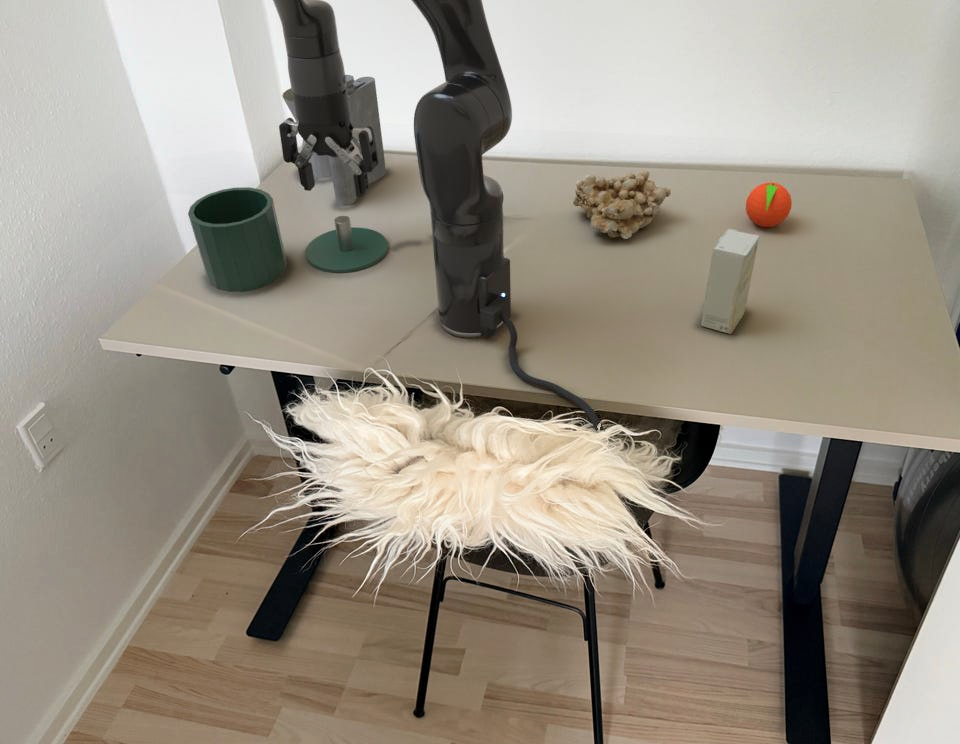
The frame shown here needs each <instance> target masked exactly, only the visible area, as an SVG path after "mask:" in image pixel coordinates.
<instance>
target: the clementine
mask: <svg viewBox="0 0 960 744" xmlns="http://www.w3.org/2000/svg"><path fill="white" fill-rule="evenodd" d="M792 201H793V200H792V197H791V194H790V193H789V191H788V189H786V188H785V187H784V186H783V185H781V184H779V183H778V182H771V181H770V182H764V183H761V184H759V185H757V186H755V187H754V188H753V189H752V190H751V191H750V193H749V194H748V196H747V198H746V200H745V211H746V215H747V217H748V218H749V220H750V221H751V222H752V223H754V224H755V225H756V226H759V227H762V228H772V227H775V226H777V225H779V224H781V223H783V222H784V221H785V220H786V219H787V218H788V216H789V215H790V212H791V210H792V205H793V202H792Z"/></svg>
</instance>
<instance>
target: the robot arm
mask: <svg viewBox="0 0 960 744" xmlns="http://www.w3.org/2000/svg"><path fill="white" fill-rule="evenodd" d="M410 1H411V2H412V3H413V5H414V6H415V7H416V9H418V11H419V13H420V14H421V15H422V16H423V18H424V19H425V20H426V22H427V24H428V26H429V28H430V30H431V32H432V34H433V36H434V39H435V41H436V45H437V48H438V52H439V55H440V59H441V63H442V68H443V73H444V78H445V81H444V82H443V83H441V84H440V85H437V86H436V87H434V88H432V89H430V90H429V91H428V92H426V93H424V94H423V95H422V97H420V99H419V100H418V102H417V104H416V106H415V109H414V113H413V135H414V144H415V150H416V157H417V165H418V171H419V178H420V183H421V184H420V185H421V186H422V189H423V193H424V194H425V197H426V198H427V201H428V203H429V212H430V224H431V237H432V238H431V239H432V247H433V249H432V250H433V259H434V260H433V261H434V271H435V272H434V273H435V283H436V294H437V306H438V323H439V325H440V327H441V328H442V329H443V330H444V331H445V332H447V333H448V334H450V335H452V336H456V337H460V338H465V339H466V338H467V339H472V338H484V339H486V340H488V339H490V338H491V337H492V336H494V334H495V333H497V331H499V330H500V329H501V328H502V327H503V326H504V325H505V327H506V328H507V330H508V331H509V336H510V337H509V339H510V340H509V344H508V354H509V355H508V356H509V363H510V367H511V369H512V371H513V372H514V374H515V375H516V376H517V377H518V378H520V379H521V380H522V381H524V382H526V383H528V384H530V385H533V386H536V387H541V388H544V389H546V390H550V391H552V392H554V393H555V394H558V395H559V396H561V397H563V398H565V399H566V400H568V401H569V402H571V403H573V404H575V405H576V406H577V407H579V408H580V410H582V411H583V412H584V413H585V415H586V416H587V418H588V419H589V421H590V422H591V424H592V426H593V427H594V430H595V431H596V432H597V430H598V428H597V425H598V424H599V423H600V422H601V420H600V418H599V417H598V415H597V414H596V412H595V411H594V409H593V408H592V407H591V406H590V405H589V404H588V403H587V402H586V401H585V400H583V398H581V397H579V396H578V395H576V394H574V393H572V392H571V391H569V390H568V389H565V388H564V387H561V386H560V385H559V384H556V383H554V382H551V381H548V380H545V379H541V378H537V377H534V376H531V375H529V374H528V373H526V372H525V371H524V370H523V369H522V368H521V367H520V366H519V364H518V363H519V362H518V357H517V342H518V332H517V328H516V326H515V324H514V323H513V321H512V320H511V318H512V291H511V289H512V288H511V283H512V282H511V259H510V258H508V257H505V253H504V251H505V250H504V206H503V205H504V196H503V197H502V192H503V189H502V187H501V184H500V183H499V182H498V181H497V180H496V179H494V178H493V177H491V176H489V175H486V174H484V166H483V155H484V154H485V153H487V152H488V151H490V150H491V149H493V148H494V147H496V146H497V145H498V144H500V143H501V142H502V141H503V140H504V139H505V138H506V136H507V135H508V133H509V131H510V129H511V126H512V122H513V121H512V120H513V107H512V100H511V96H510V92H509V88H508V85H507V81H506V78H505V75H504V72H503V69H502V66H501V64H500V63H501V62H500V60H499V57H498V53H497V51H496V48H495V47H496V46H495V44H494V41H493V38H492V33H491V31H490V28H489V24H488V20H487V18H486V14H485V9H484V4H483V0H410ZM272 2H273V4H274V7H275V9H276V13H277V14H278V17H279V20H280V23H281V27H282V34H283V39H284V45H285V51H286V56H287V57H286V58H287V71H288V77H289V78H288V79H289V83H290V88H291V89H292V95H293V100H294V105H295V111H296V117H297V119H298V121H299V122H296V121H295V119H293V118H292V117H288V118H286V119H285V120H284V121H283V122H281V123H279V125H278V129H279V138H280V144H281V151H282V157H283V158H282V159H283V161H284V162H285V163H287V164H289V163H292V164H294V165H295V167H296V168H297V172H298V177H299V183H300V185H301V187H303V189H304V191H308V192H310V191H312V190H313V189H314V188H315V185H316V181H315V180H314V175H313V169H312V163H309V160H310V159H311V157H312V155H313V154H314V152H315V153H317V155H320V156H323V155H328V156H331V157H337V156H339V158H340V159H341V160H342V161H343V163H345V164H348V165H349V167H350V168H351V169H352V170H353V172H354V173H355V174H354V175H353V177H354V184H355V191H356V196H357V198H363V197H364V196H365V195H366V193H367V192H368V191H369V189H370V184H368V175H367V172H372V170H373V169H374V168H375V167H376V166H377V165H378V164H379V160H378V154H377V149H376V143H375V137H374V132H373V128H372V127H371V126H366V127H365V128H364V129H363V128H354V127H353V126H352V124H351V121H350V107H349V100H348V92H347V85H346V75H347V74H346V71H345V66H344V61H343V57H342V54H341V49H340V41H339V35H338V28H337V21H336V15H335V11H334V9H333V7H332V5H331V4H330V3H329V2H327V1H325V0H272ZM297 135H299V136H300V137H301V138H302V140H303V139H304V141H305V142H306V143H305V145H304V147H303V148H302V147H301V150H300V152H299V146H298V139H297ZM353 137H354V138H356V140H357V144H359V145H360V147H361V152H362V155H361V154H360V151H359V149H358V147H357V146H356V145H355V144H354V142H353V141H352V139H353ZM346 149H348V150H349V154H348V153H347V152H346V151H345V150H346ZM600 430H604V431H605V428H604V426H603V424H602V423H601V427H600Z"/></svg>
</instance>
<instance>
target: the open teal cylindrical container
mask: <svg viewBox="0 0 960 744" xmlns="http://www.w3.org/2000/svg"><path fill="white" fill-rule="evenodd" d="M187 216H188V219H189V222H190V225H191V228H192V232H193V235H194V239H195V242H196V246H197V248H198V253H199V255H200V258H201V262H202V266H203V268H204V271H205V275H206V278H207V280H208V283H209V285H211V286H212V287H214V288H216V289H217V290H220V291H224V292H228V293H229V292H231V293H235V292H236V293H238V292H239V293H241V292H242V293H243V292H250V291H254V290H258V289H261V288H264V287H267V286H268V285H271V284H272V283H274V282H276V281H277V280H279V279H280V278H281V277H282V276H283V275H284V274H285V273H286V271H287V266H288V260H287V256H286V251H285V247H284V243H283V238H282V234H281V229H280V225H279V221H278V217H277V212H276V208H275V202H274V199H273V197H272V195H271V194H270V193H269V192H267V191H265V190H263V189H260V188H255V187H231V188H225V189H224V188H223V189H220V190H217V191H214V192H211V193H208V194H206V195H204V196H202V197H200V198H198V199H197V200H196V201H194V203H192V204H191V205H190V206H189V209H188V212H187Z"/></svg>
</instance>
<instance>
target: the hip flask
mask: <svg viewBox="0 0 960 744" xmlns="http://www.w3.org/2000/svg"><path fill="white" fill-rule="evenodd" d="M345 75H346V85H347V92H348V100H349V107H350V121H351V124H352V126H353V127H354V128H363V129H364V128H365V127H366V126H371V127H372V128H373V132H374V137H375V143H376V149H377V154H378V160H379V164H378V165H377V166H376V167H375V168H374V169H373V170H372V172H367V175H368V184H369V185H370V184H371V183H372V182H373V183H375V182H377V181H379V180H381V178H383V177H384V176H386V175H387V168H386V160H385V152H384V143H383V136H382V135H383V134H382V126H381V118H380V110H379V102H378V94H377V86H376V79H375V77H373V76H361V77H358V78H357V79H355V77H354V76H353V75H351V74H345ZM352 141H353V142H354V144H355V145H356V146H357V147H358V149H359V151H360V154H361V155H362V152H361V147H360V145H359V144H357V140H356V138H354V137H353V139H352ZM345 151H346V152H347V153H348V154H349V150H348V149H346V150H345ZM329 162H330V168H331V174H332V176H331V178H332V186H333V191H334V196H335V197H334V198H335V203H336V205H337V206H339V207H347V206H351V205H353V204H354V203H355V202H356V200H357V198H358V197H357V196H356V191H355V184H354V177H353V175H354V174H355V173H354V172H353V170H352V169H351V168H350V167H349V165H348V164H345V163H343V161H342V160H341V159H340V158H339V156H337V157H331V156H329Z"/></svg>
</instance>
